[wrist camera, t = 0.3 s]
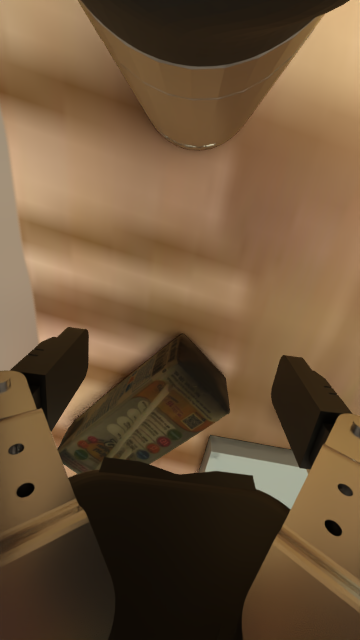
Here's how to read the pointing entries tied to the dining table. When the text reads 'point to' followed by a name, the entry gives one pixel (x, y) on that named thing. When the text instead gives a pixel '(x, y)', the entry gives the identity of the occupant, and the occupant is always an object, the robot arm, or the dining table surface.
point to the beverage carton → (149, 410)
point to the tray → (257, 466)
